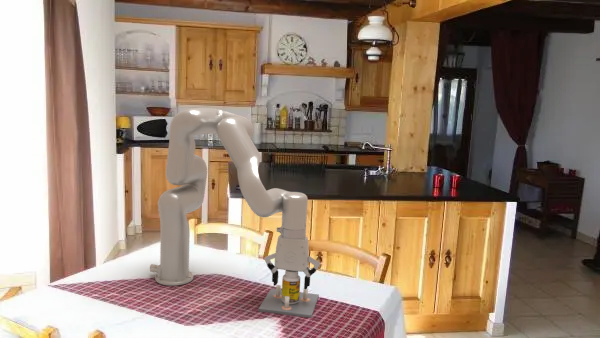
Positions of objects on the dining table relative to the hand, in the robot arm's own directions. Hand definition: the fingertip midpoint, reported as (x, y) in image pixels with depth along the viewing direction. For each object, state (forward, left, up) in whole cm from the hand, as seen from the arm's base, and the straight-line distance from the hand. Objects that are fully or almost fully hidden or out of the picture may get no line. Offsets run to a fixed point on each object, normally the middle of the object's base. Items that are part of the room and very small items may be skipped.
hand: (290, 286), depth 155 cm
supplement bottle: (0, 0, -5) cm, 5 cm away
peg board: (0, 0, -6) cm, 6 cm away
